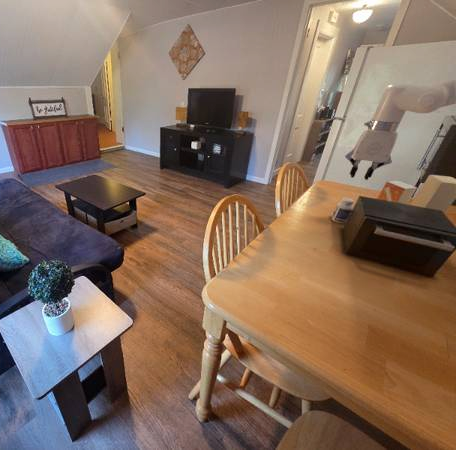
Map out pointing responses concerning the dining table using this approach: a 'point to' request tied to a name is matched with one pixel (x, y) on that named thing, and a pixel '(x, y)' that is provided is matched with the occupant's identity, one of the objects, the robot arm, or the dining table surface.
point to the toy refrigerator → (436, 193)
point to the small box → (397, 192)
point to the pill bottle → (343, 210)
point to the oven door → (402, 245)
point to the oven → (395, 216)
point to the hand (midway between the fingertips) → (359, 177)
